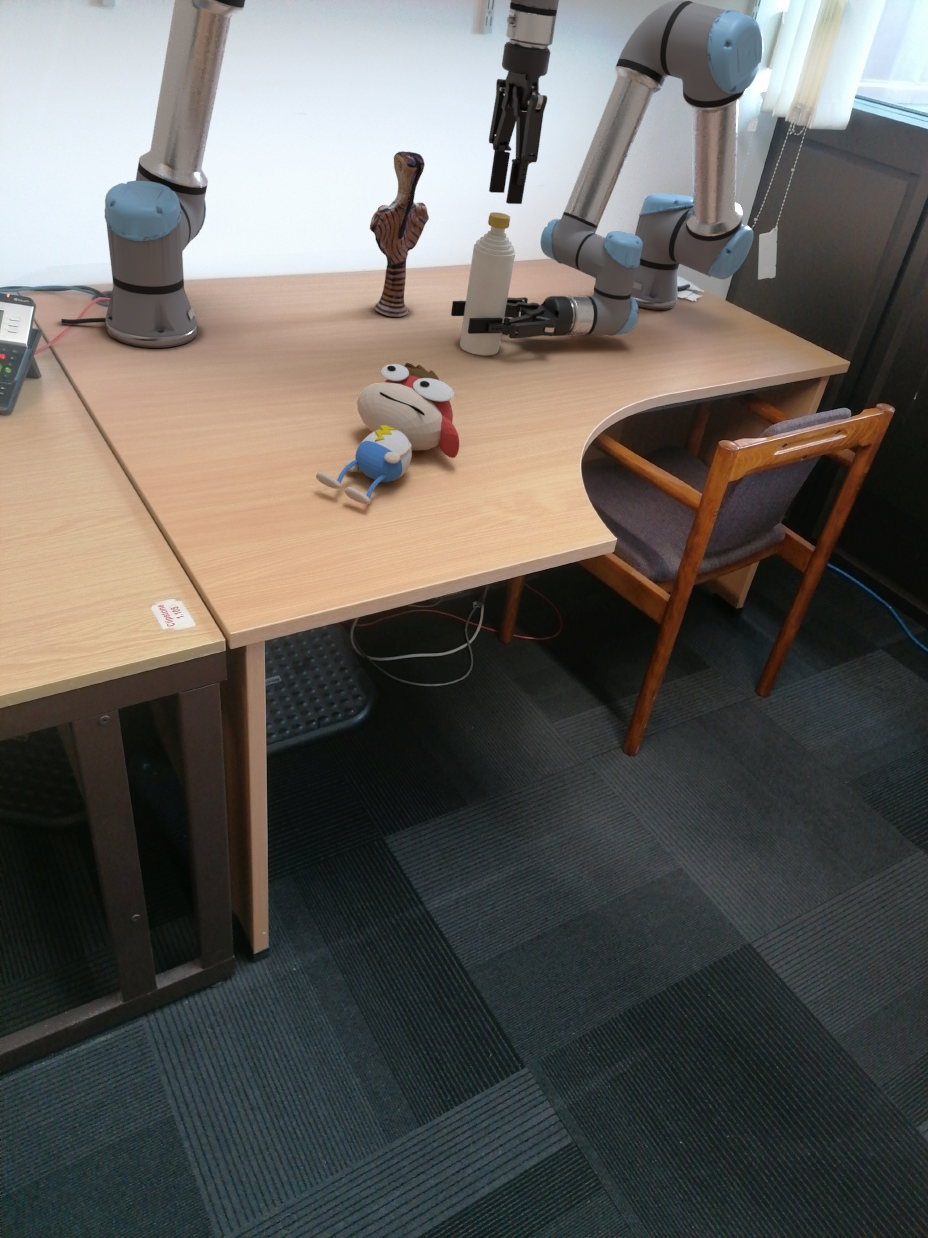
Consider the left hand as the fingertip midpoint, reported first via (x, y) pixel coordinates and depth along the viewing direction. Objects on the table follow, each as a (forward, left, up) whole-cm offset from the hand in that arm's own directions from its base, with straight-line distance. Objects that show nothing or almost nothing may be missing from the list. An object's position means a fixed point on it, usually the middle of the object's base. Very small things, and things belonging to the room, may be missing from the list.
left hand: (505, 196), depth 157 cm
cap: (0, 0, -3) cm, 3 cm away
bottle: (0, 0, -28) cm, 28 cm away
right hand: (-4, -3, -22) cm, 22 cm away
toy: (0, -51, -28) cm, 58 cm away
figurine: (-21, +7, -28) cm, 35 cm away
